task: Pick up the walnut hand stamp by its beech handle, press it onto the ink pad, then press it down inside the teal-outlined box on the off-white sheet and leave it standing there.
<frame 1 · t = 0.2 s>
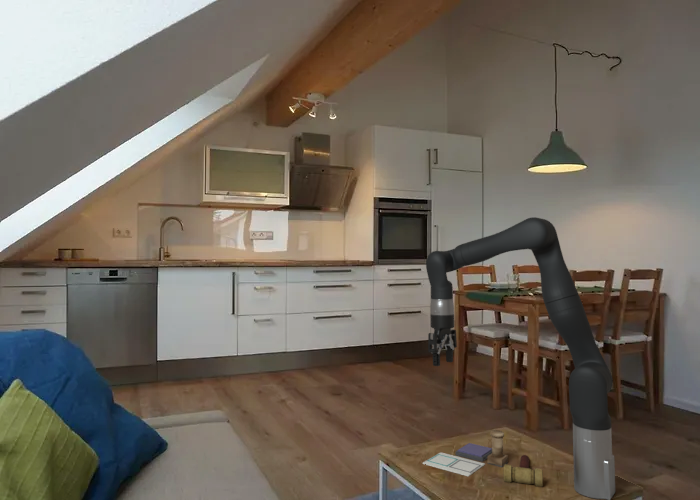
hand: (443, 363, 161), 28 cm above the table, fingers open, 8 cm apart
sheet: (453, 464, 151), on the table
gavel: (524, 473, 146), on the table
stamp: (497, 463, 152), on the table
ink pad: (475, 454, 159), on the table
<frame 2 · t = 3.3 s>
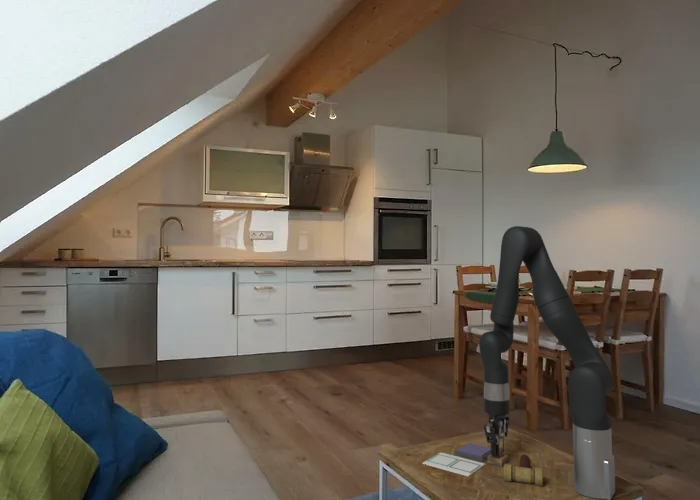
hand: (497, 454, 152), 3 cm above the table, fingers closed on stamp, 3 cm apart
stamp: (497, 463, 152), on the table, touching gripper
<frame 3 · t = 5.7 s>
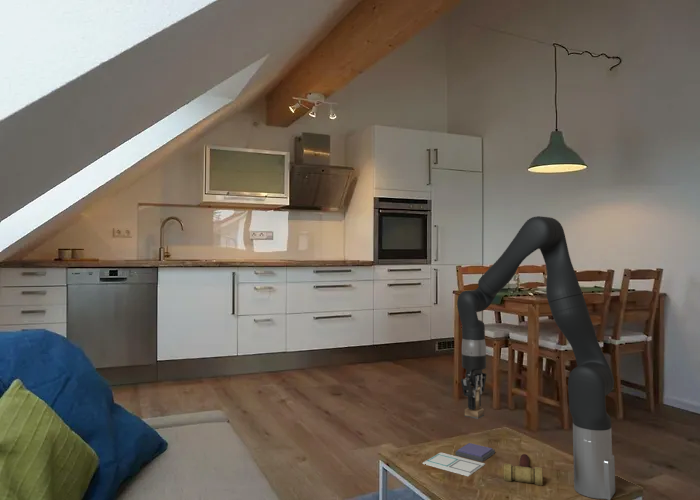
hand: (474, 407, 160), 15 cm above the table, fingers closed on stamp, 3 cm apart
stamp: (474, 416, 160), point 12 cm above the table, touching gripper
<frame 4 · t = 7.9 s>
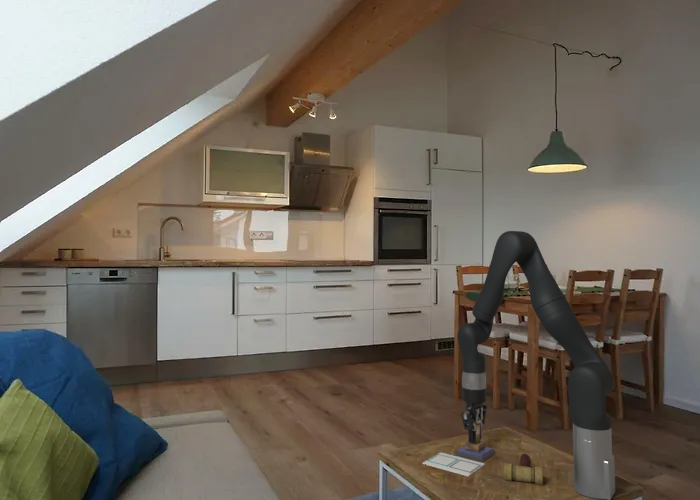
hand: (474, 440, 159), 4 cm above the table, fingers closed on stamp, 3 cm apart
stamp: (474, 449, 159), point 2 cm above the table, touching gripper, ink pad
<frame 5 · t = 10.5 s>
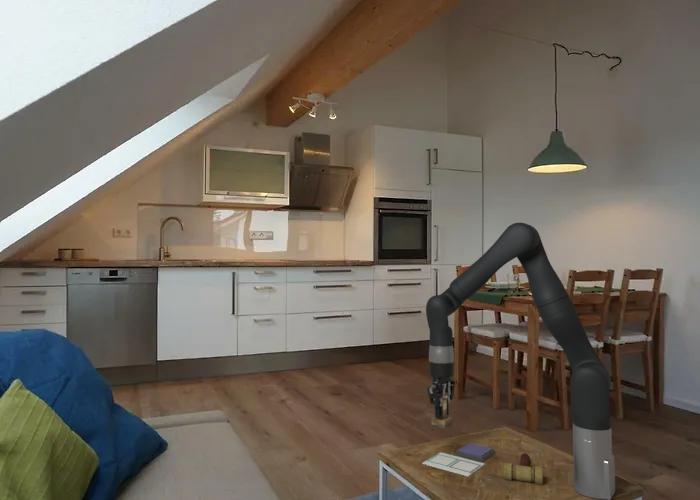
hand: (442, 416, 154), 14 cm above the table, fingers closed on stamp, 3 cm apart
stamp: (441, 425, 154), point 11 cm above the table, touching gripper
when the fingers open (3 cm above the table, at t = 12.6 s): stamp stays where it is, resting on sheet.
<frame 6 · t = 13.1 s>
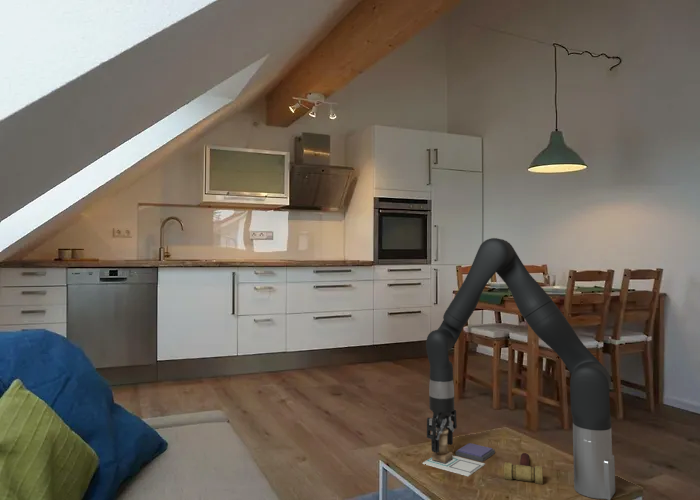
hand: (442, 448, 154), 4 cm above the table, fingers open, 8 cm apart
stamp: (442, 460, 154), resting on sheet
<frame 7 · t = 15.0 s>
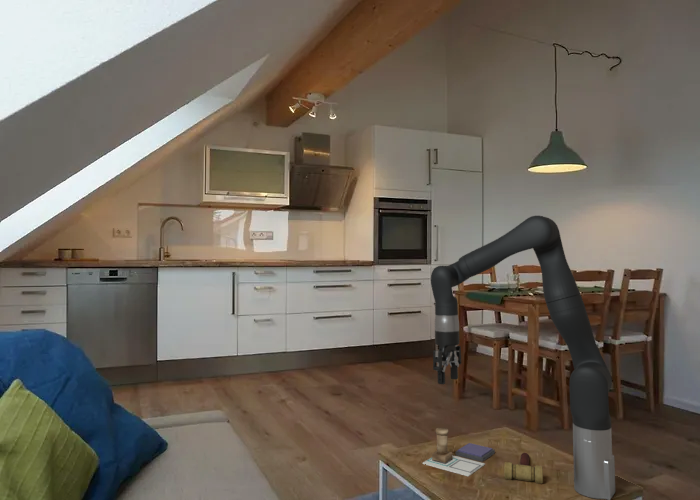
hand: (448, 381, 157), 24 cm above the table, fingers open, 8 cm apart
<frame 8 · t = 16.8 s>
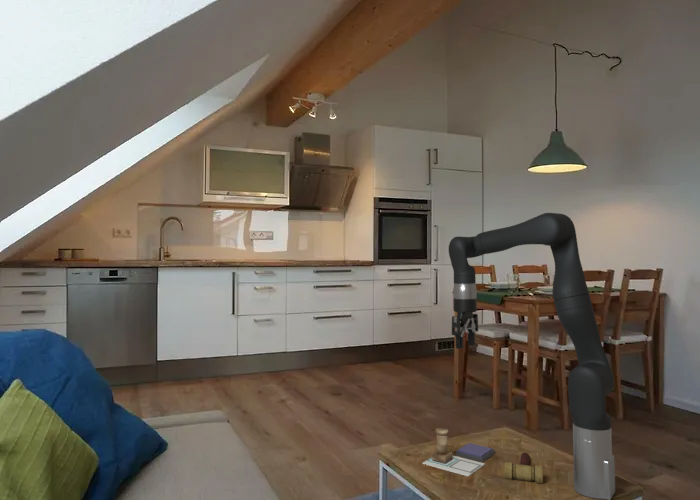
hand: (465, 346, 165), 33 cm above the table, fingers open, 8 cm apart
at the end: stamp 0.0 cm from the target spot on the sheet, point 0.3 cm above the sheet's base; stamp tilted 0°; the gripper is holding nothing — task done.
